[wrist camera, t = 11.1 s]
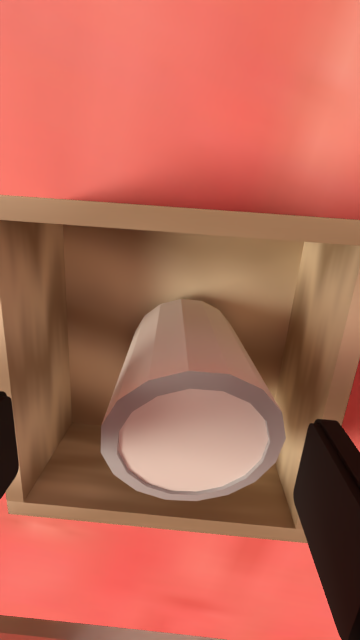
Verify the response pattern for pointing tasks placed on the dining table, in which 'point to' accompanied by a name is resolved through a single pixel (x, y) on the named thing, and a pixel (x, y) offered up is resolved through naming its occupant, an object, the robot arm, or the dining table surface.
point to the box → (124, 318)
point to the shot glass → (190, 408)
